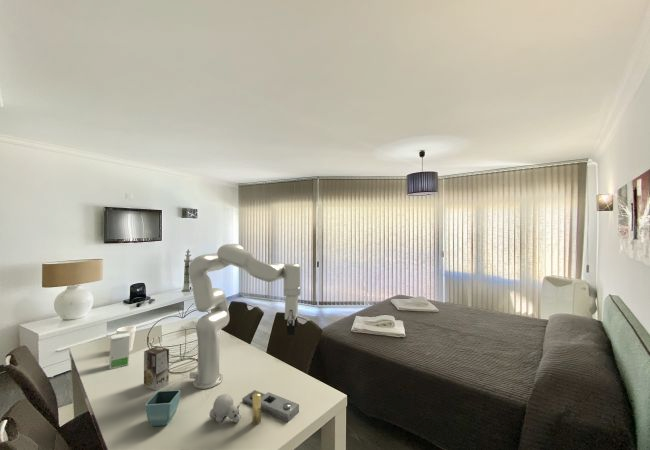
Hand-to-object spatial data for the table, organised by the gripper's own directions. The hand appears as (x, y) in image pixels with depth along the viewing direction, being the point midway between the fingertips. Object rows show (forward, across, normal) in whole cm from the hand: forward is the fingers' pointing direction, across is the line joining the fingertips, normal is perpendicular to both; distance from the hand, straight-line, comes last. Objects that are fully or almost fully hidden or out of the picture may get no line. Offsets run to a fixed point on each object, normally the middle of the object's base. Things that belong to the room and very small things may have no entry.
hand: (292, 330), depth 120 cm
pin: (+27, +18, -11) cm, 35 cm away
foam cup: (+27, -46, -104) cm, 117 cm away
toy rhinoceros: (+27, +17, -23) cm, 39 cm away
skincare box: (+27, -28, -95) cm, 102 cm away
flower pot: (+27, +17, -46) cm, 56 cm away
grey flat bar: (+27, +9, -8) cm, 30 cm away
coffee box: (+27, -8, -64) cm, 69 cm away
